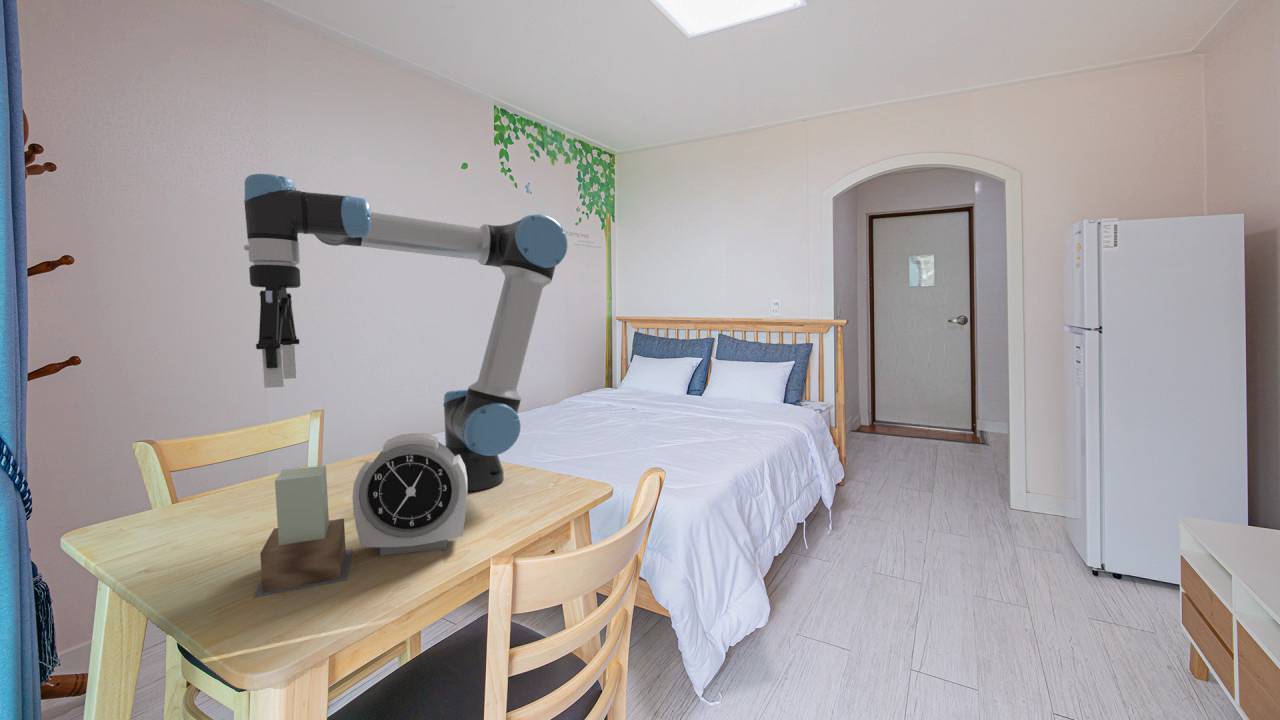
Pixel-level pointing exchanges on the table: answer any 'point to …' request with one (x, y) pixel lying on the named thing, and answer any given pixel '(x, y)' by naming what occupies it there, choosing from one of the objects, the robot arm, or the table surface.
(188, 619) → the table surface
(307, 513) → the sage block
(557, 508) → the table surface
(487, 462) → the robot arm
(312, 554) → the walnut block
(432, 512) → the alarm clock
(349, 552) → the slate mat
